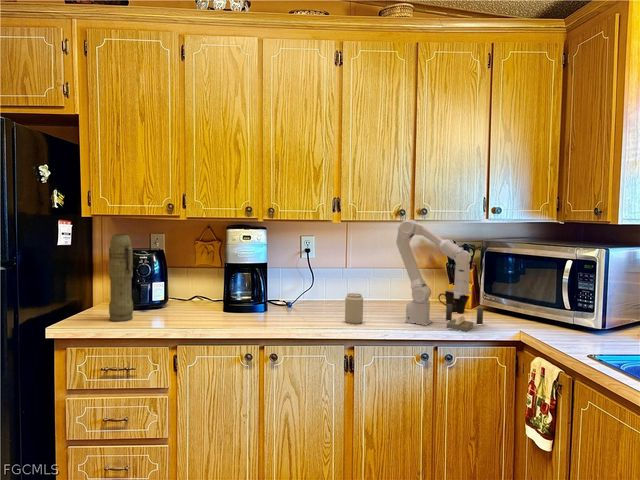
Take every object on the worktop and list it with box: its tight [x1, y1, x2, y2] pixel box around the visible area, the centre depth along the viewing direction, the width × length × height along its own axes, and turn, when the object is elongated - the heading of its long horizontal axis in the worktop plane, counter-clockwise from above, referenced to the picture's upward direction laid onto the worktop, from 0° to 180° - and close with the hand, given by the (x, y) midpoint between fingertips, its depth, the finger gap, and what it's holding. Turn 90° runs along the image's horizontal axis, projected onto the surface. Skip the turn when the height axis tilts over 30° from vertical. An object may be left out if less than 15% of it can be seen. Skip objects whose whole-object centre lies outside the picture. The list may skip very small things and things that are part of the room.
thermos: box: [108, 233, 134, 323], centre depth 180 cm, size 9×12×35 cm
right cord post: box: [476, 307, 484, 325], centre depth 185 cm, size 2×2×7 cm
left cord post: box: [445, 304, 453, 321], centre depth 192 cm, size 2×2×7 cm
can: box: [344, 292, 364, 325], centre depth 184 cm, size 8×8×12 cm
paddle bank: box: [455, 315, 466, 325], centre depth 179 cm, size 2×9×2 cm, turn 147°
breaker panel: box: [446, 318, 474, 333], centre depth 180 cm, size 8×10×2 cm
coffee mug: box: [438, 288, 457, 312], centre depth 209 cm, size 12×9×10 cm
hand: (460, 313), depth 179 cm, fingers closed
